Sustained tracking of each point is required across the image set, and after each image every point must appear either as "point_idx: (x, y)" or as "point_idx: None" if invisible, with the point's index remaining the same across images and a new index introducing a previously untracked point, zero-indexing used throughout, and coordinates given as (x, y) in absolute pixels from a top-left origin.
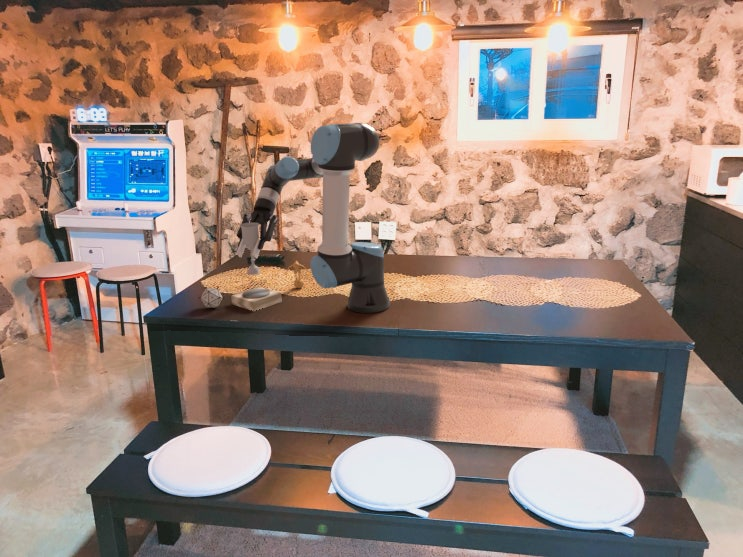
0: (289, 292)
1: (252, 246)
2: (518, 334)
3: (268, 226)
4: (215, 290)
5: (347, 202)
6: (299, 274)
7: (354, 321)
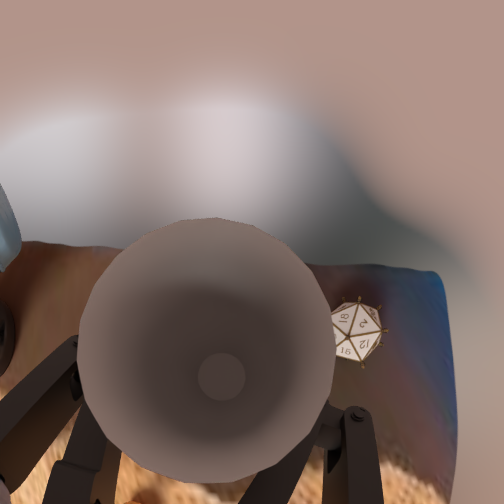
0: (157, 479)
1: (202, 341)
2: None
3: (28, 406)
4: (347, 324)
5: None
6: None
7: (18, 260)
